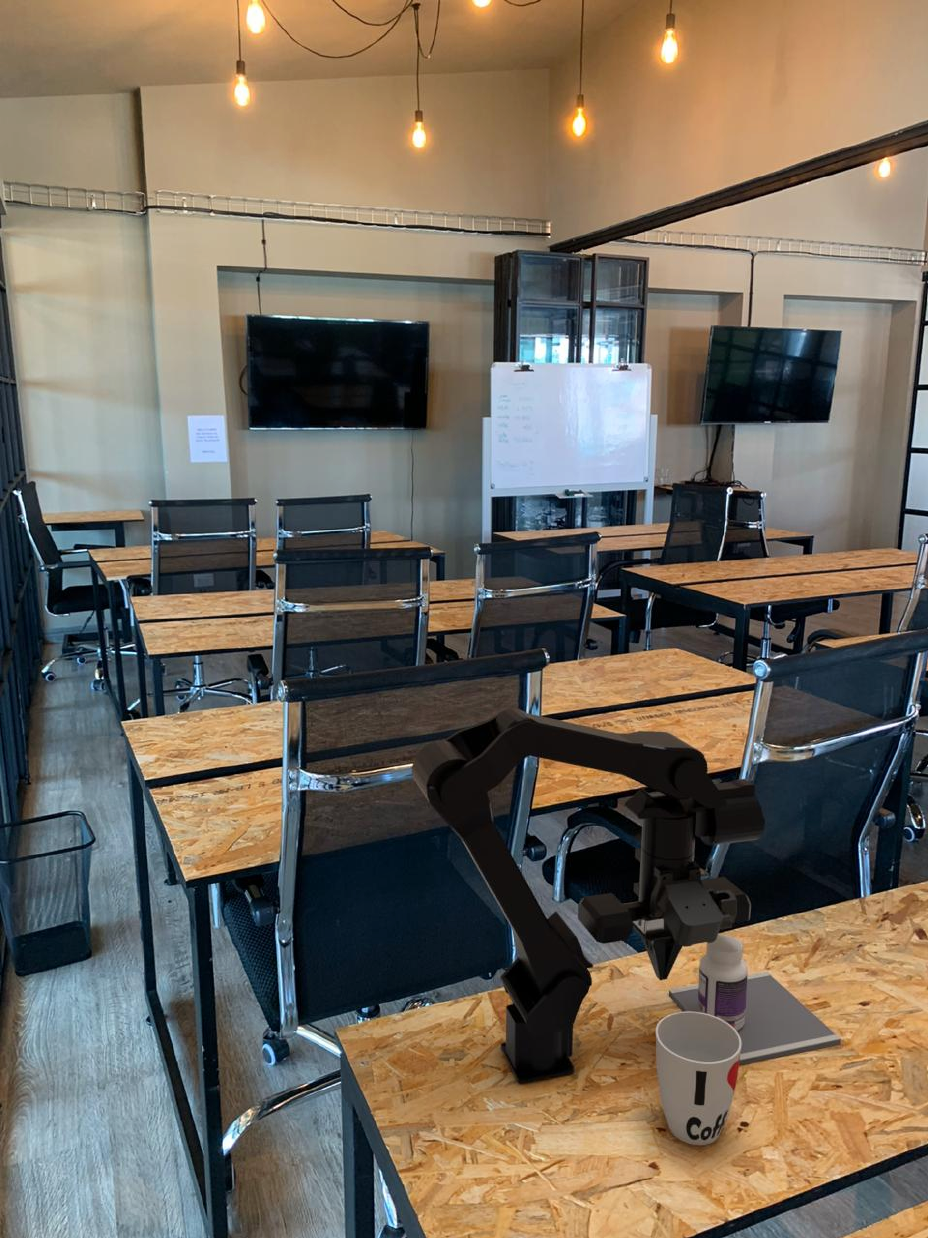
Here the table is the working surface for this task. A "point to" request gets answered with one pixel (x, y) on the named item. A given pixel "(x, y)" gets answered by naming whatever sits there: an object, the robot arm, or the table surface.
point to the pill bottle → (723, 981)
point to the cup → (696, 1074)
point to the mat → (769, 1020)
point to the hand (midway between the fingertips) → (661, 978)
